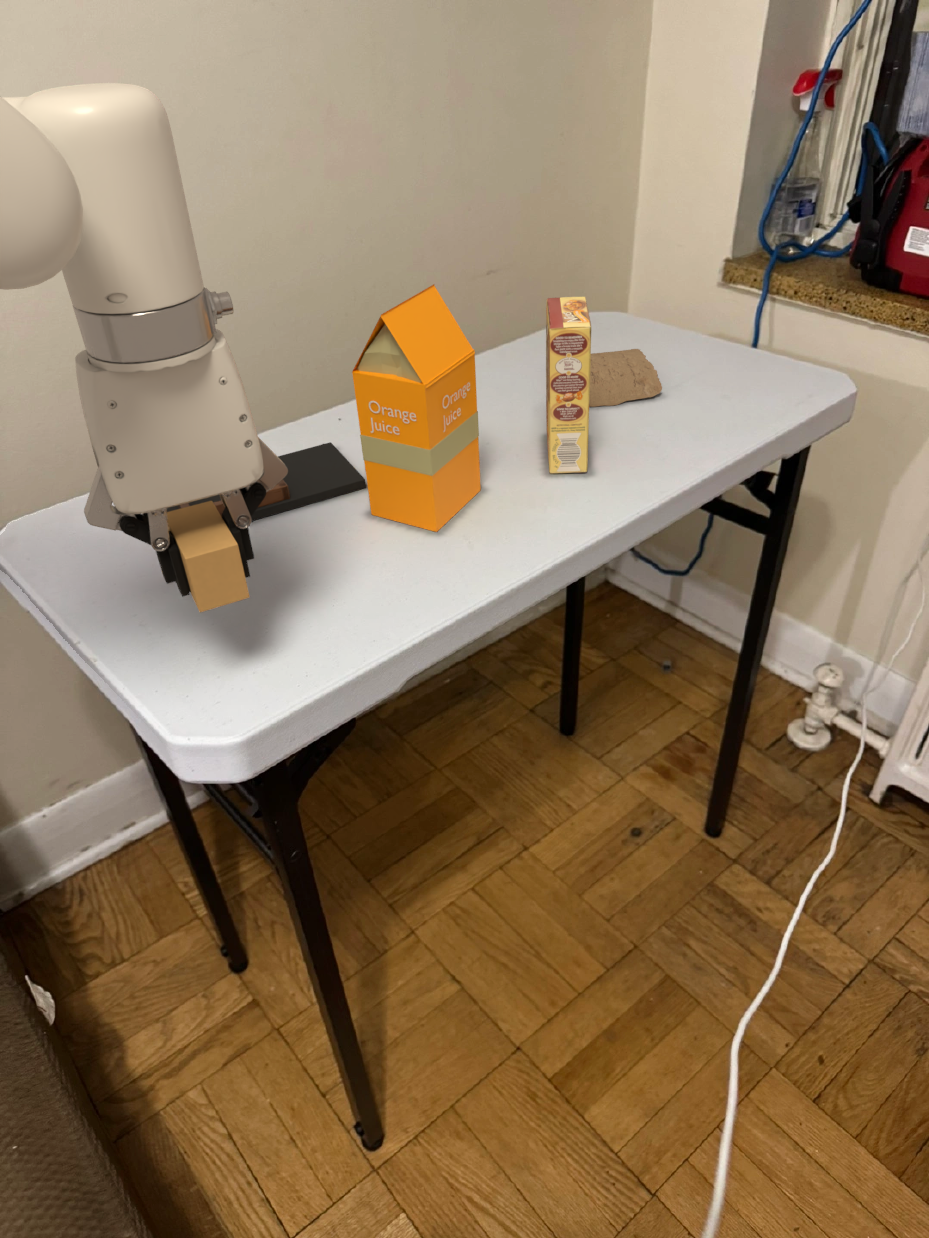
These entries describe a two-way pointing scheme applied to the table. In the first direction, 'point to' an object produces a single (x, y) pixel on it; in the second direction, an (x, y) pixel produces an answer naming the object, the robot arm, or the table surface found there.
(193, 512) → the brown block
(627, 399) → the clay tablet
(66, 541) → the table surface
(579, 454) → the candy box
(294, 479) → the back pad
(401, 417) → the orange juice
